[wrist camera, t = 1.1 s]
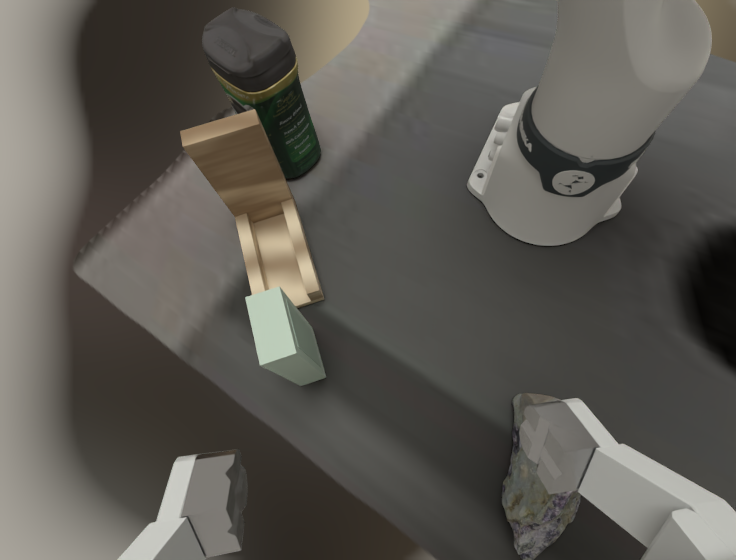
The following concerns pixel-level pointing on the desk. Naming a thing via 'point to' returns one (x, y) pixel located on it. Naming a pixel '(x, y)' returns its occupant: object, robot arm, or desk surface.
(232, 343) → the desk surface
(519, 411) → the mineral rock
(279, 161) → the coffee jar
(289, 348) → the mint green rectangular block
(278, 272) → the track
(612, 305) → the desk surface
